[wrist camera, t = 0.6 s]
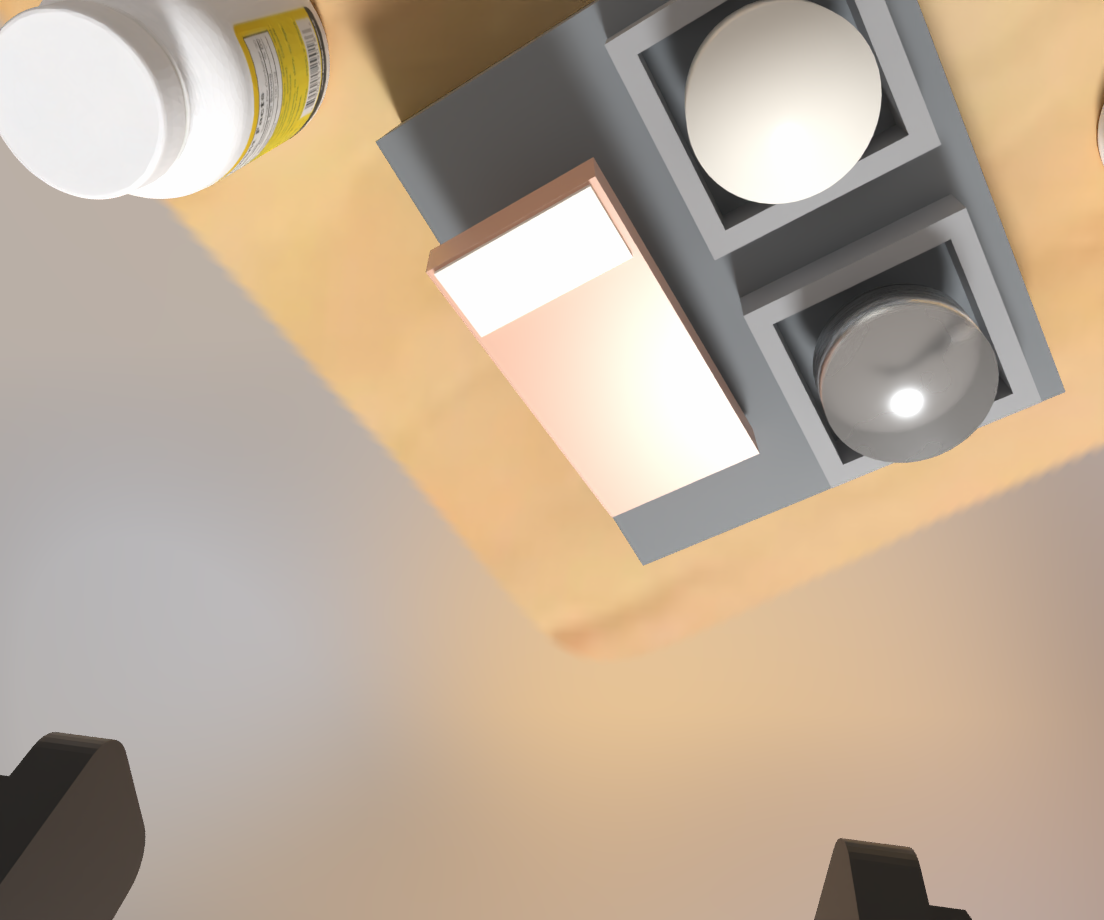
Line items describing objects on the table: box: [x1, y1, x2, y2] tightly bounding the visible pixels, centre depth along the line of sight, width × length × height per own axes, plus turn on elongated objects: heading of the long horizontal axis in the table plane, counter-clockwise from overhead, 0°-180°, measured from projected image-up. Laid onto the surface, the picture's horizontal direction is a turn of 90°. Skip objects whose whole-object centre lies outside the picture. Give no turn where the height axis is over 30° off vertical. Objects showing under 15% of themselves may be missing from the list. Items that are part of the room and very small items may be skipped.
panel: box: [376, 0, 1065, 565], centre depth 28 cm, size 14×16×4 cm
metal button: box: [813, 283, 999, 463], centre depth 26 cm, size 4×4×2 cm
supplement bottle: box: [0, 0, 330, 199], centre depth 25 cm, size 5×5×10 cm
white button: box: [685, 0, 882, 204], centre depth 23 cm, size 4×4×2 cm
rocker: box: [426, 157, 760, 517], centre depth 27 cm, size 5×10×1 cm, turn 31°
